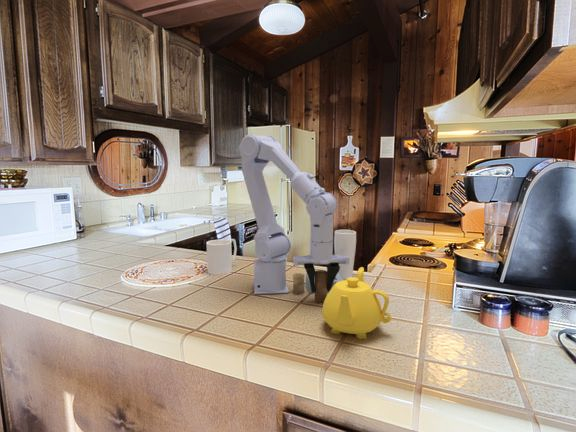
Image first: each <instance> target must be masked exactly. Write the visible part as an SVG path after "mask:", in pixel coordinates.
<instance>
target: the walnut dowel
mask: <svg viewBox="0 0 576 432" xmlns="http://www.w3.org/2000/svg"><path fill="white" fill-rule="evenodd" d="M327 295H328V292H327V270H323V269H319V270H315V293H314V302H315V303H316V304H320V303H323V304H324V301H325V298H326V296H327Z"/></svg>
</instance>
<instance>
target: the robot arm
mask: <svg viewBox="0 0 576 432" xmlns="http://www.w3.org/2000/svg"><path fill="white" fill-rule="evenodd" d="M238 150H239V154H240V158H241V172H242V175H243V180H244V183H245V187H246V190H247V193H248V196H249V200H250V204H251V207H252V211H253V213H254V214H253V215H254V217H255V218H254V219H255V221H256V224H257V228H258V229H257V231H256V233H255V234H254V237H253V240H254V244H255V245H254V252H255V255H256V256H257V258H258V259H253V279H252V285H253V289H254V290H253V291H254V293H253V294H255V295H261V294H262V295H266V294H268V295H269V294H288V293H289V288H288V284H287V267H286V266H287V258H288V254H289V252H290V251H291V247H292V243H291V240H290V238H289V236H287V235H288V234H286V232H285V229H284V227H282V226H281V225H280V224H278V223H277V219H276V215H275V211H274V207H273V205H272V202H271V201H272V200H271V197H270V195H269V194H270V193H269V191H268V187H267V183H266V181H265V178H264V173H263V171H264V169H265V167H266V166H267V165H268V164H269V163H270V162H272V163H273V164H274V165H275V166H276V167H277V168H278V169H279V170H280V172H282V173H283V174H284V175H285V176H286V177H287V178H288V179H289V180H290V188H291V189H292V190H293V191H294V192H295V194H296V195H297V196H298V197H299V198H300V199H301V200H302V202H303V203H304V204H305V208H306V211H307V214H308V215H309V221H310V245H309V246H310V249H309V250H310V252H309V253H310V254H306V255H302V256H301V255H299V256H293V257H292V259H293V260H292V265H293V266H294V267H298V266H303V267H304V269H305V272H306V274H307V275H308V278H309V281H310V286H311V291H312V293H311V294H315V271H316V268H315V265H326V271H327V291H328V292H327V293H329V291H330V290H331V288H332V285H333V282H334V279H335V277H336V275H337V273H338V272H339V270H340V266H339V264H346V265H349V262H350V257H349V256H348V255H335V254H334V253H333V249H334V248H333V247H334V245H333V244H334V213H335V212H336V211H337V209H338V201H337V199H336V197H335V195H334V194H333V193H331V192H326V189H325V188H324V187H322V186H320V184H319V183H318V182H317V181H315V179H314V177H315V176H314V175H313V174H312V173H308V172H307V171H301V170H300V169H299V168H298V167H297V166H296V164H295V163H294V161H292V159H291V158H290V157H289V156H288V154H287V153H286V151H285V150H284V149H283V148H282V144H281V143H280V142H279V141H277V139H276V138H275V137H274V136H270V135H268V136H266V135H257V134H256V135H255V134H253V133H249V134H246V135H244V136H243V138H242V139H241V142H240V144H239V147H238Z"/></svg>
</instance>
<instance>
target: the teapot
mask: <svg viewBox="0 0 576 432" xmlns="http://www.w3.org/2000/svg"><path fill="white" fill-rule="evenodd" d="M364 272H365V268H364V267H363V266H361V267H359V268H358V269H357V273H356V277H355V276H353V277H349V278H347V280H343V281H339V282H337V283H336V284H335V285H334V286H333V287H332V289H331V290H330V291H329V292H327V296H326V298H325V301H324V303H323V305H322V307H321V314H322V315H321V316H322V318H323V319H324V321H325V322H326V324H327V325H328V326H329V327H330V328H331V329H330V333H331V334H333V335H340V334H341V333H345V334H351V335H355V337H356V338H357V339H359V340H366V339H367V338H368V335H367V333H370V332H373V331H374V330H375V329H376V328H377V327H378V326H379V325H380V324H382V323H383V324H388V323H390V322H391V321H392V315H391V313H388V312H386V311H387V309H388V306H389V302H390V298H389V295H388V294H387V292H385V291H383V290H380V289H373V288H372V286H371V285H370V284H368V283H366V282H365V281H364V280H365V279H364ZM377 295H380V296H382V297H383V299H384V303H383V307H382V305H381V302H380V299H379V298H378V296H377ZM386 317H387V318H386Z"/></svg>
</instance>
